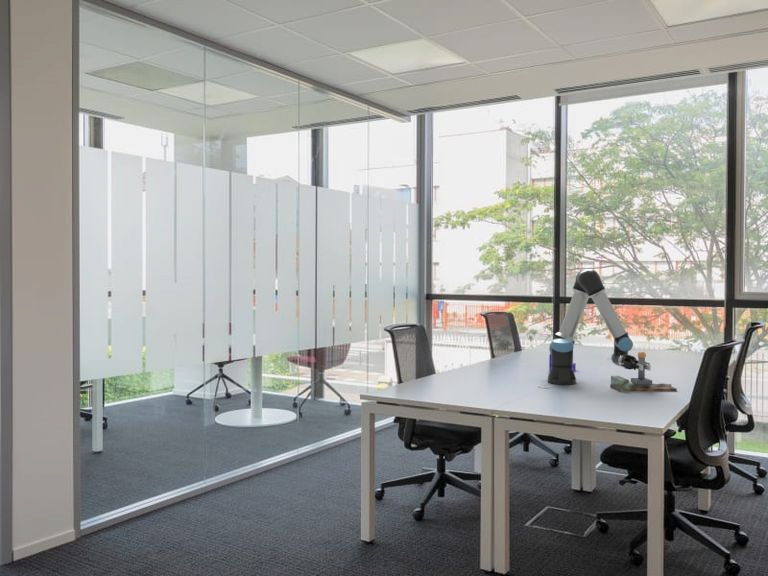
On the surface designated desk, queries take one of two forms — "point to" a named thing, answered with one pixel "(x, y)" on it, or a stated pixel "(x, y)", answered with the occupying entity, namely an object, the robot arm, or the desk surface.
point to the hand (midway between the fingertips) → (646, 367)
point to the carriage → (641, 372)
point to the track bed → (625, 386)
